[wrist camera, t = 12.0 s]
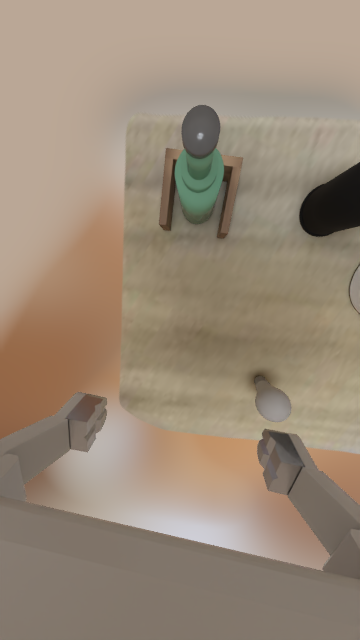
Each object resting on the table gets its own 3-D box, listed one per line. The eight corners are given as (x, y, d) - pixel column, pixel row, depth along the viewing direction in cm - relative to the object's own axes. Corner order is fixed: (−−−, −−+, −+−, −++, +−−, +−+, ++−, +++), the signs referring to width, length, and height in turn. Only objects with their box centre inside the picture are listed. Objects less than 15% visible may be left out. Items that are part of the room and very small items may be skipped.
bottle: (216, 191, 32) (245, 86, 13) (210, 226, 34) (228, 176, 15) (184, 187, 32) (170, 77, 13) (180, 221, 34) (161, 168, 15)
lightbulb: (248, 392, 43) (264, 432, 33) (242, 370, 42) (258, 405, 31) (274, 386, 42) (300, 426, 32) (269, 364, 41) (295, 398, 30)
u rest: (235, 174, 31) (243, 157, 26) (223, 238, 34) (227, 233, 29) (170, 165, 32) (166, 148, 27) (164, 229, 35) (158, 224, 30)
